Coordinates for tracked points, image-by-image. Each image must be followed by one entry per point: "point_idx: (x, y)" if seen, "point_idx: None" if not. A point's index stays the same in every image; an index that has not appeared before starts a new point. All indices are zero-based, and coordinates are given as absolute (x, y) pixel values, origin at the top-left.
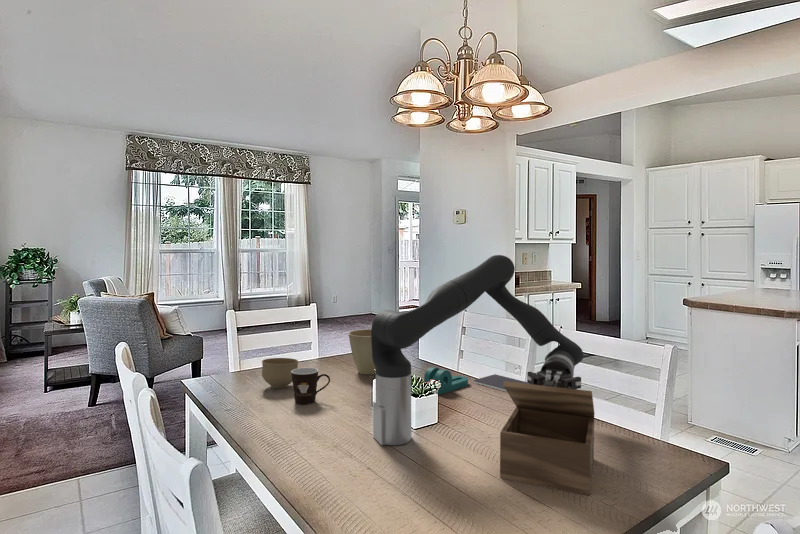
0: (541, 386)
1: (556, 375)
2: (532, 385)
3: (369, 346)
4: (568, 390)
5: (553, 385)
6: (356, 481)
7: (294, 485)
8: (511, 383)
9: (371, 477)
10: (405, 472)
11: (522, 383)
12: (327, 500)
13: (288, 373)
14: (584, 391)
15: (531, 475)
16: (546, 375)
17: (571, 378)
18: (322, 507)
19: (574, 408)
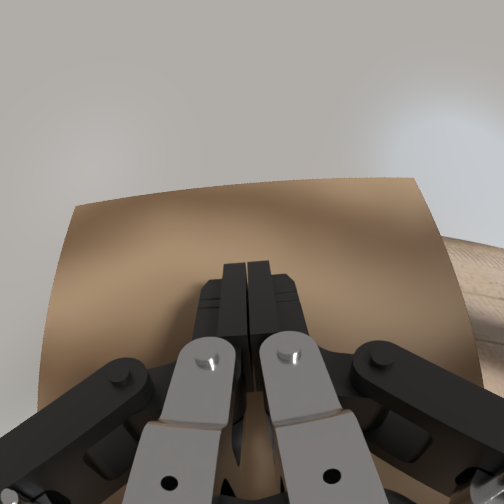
0: (262, 185)
1: (189, 437)
2: (301, 183)
3: None
4: (152, 200)
5: (220, 294)
6: (478, 277)
7: (494, 253)
8: (385, 182)
9: (479, 288)
10: (472, 315)
11: (343, 178)
12: (456, 251)
13: None
14: (98, 204)
15: None
16: (336, 412)
17: (31, 446)
18: (447, 246)
19: None
